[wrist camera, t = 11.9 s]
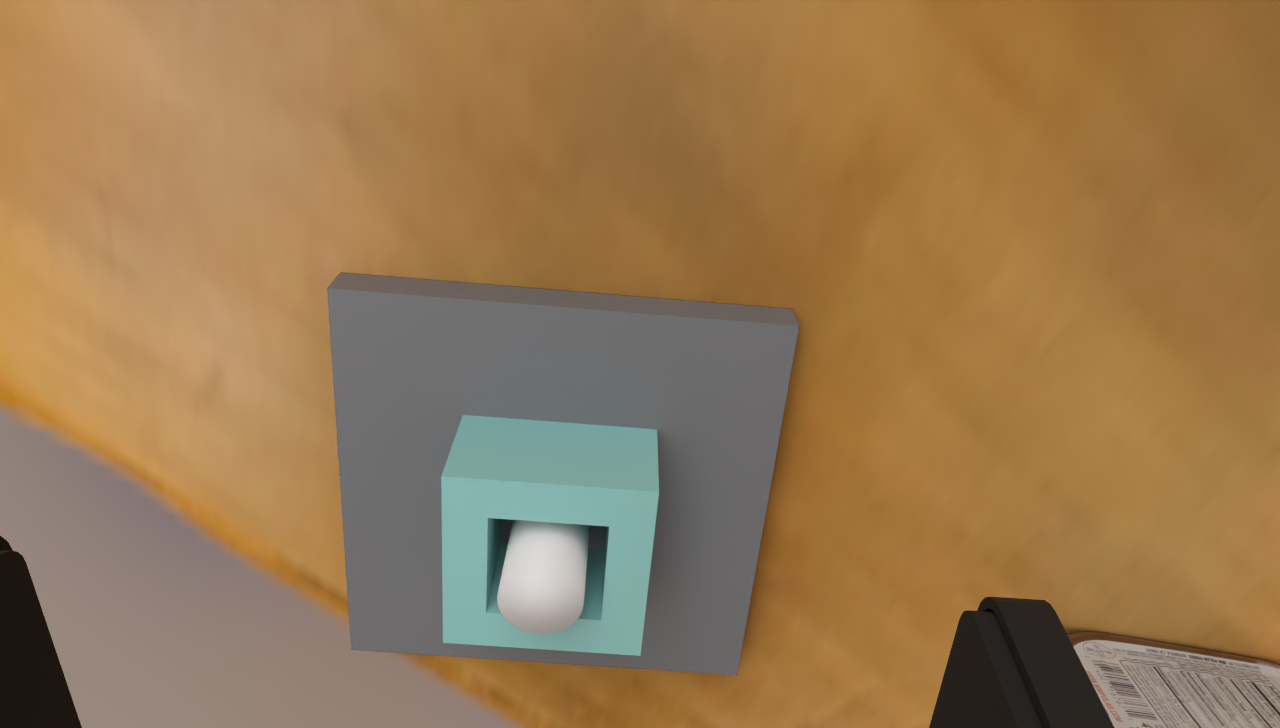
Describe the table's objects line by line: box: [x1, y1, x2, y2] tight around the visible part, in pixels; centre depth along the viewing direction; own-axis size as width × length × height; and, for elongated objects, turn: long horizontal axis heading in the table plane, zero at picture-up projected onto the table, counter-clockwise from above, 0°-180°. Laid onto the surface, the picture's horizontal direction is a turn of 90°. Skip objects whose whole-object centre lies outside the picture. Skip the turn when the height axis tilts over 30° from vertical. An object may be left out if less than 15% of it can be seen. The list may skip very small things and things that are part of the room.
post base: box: [327, 273, 799, 675], centre depth 33 cm, size 16×16×7 cm
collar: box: [441, 415, 659, 656], centre depth 33 cm, size 7×7×4 cm
